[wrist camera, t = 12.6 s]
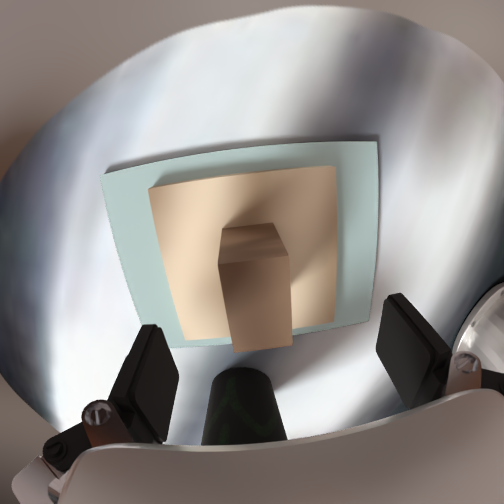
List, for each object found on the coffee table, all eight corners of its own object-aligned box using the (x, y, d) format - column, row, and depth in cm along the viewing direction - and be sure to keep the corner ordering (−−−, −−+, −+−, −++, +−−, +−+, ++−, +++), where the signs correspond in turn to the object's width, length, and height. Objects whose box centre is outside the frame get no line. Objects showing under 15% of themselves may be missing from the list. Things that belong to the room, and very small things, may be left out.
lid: (330, 165, 16) (375, 178, 10) (330, 314, 20) (357, 368, 15) (152, 186, 16) (113, 209, 10) (186, 332, 20) (175, 392, 14)
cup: (214, 349, 22) (209, 485, 10) (296, 369, 23) (326, 487, 12) (192, 399, 24) (182, 507, 13) (262, 413, 26) (274, 513, 14)
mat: (372, 141, 16) (376, 141, 15) (365, 317, 21) (368, 321, 21) (103, 174, 16) (99, 175, 15) (153, 344, 21) (151, 349, 20)
